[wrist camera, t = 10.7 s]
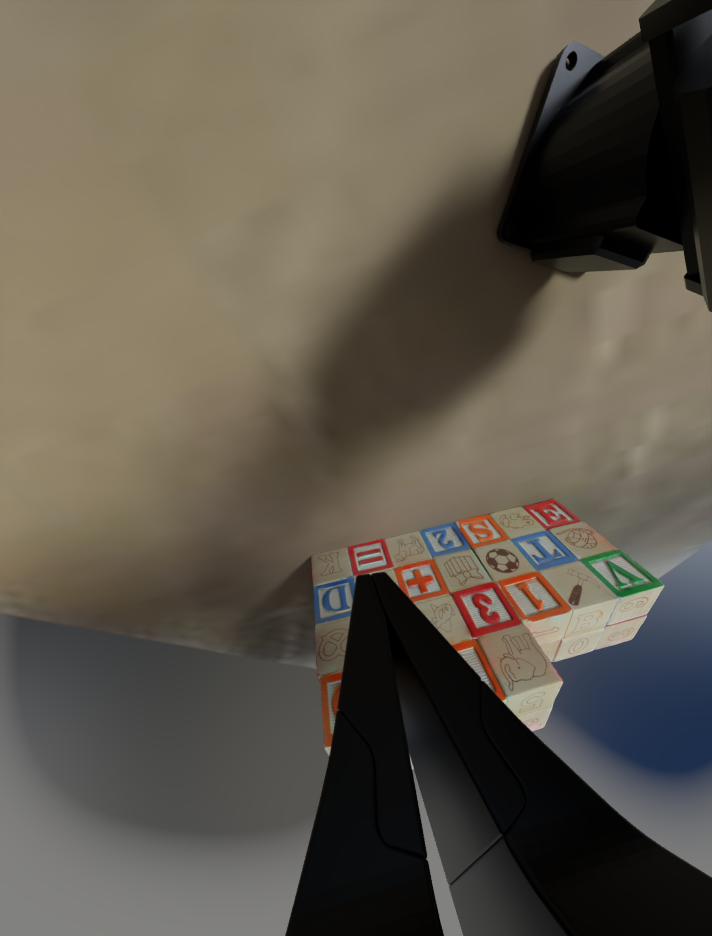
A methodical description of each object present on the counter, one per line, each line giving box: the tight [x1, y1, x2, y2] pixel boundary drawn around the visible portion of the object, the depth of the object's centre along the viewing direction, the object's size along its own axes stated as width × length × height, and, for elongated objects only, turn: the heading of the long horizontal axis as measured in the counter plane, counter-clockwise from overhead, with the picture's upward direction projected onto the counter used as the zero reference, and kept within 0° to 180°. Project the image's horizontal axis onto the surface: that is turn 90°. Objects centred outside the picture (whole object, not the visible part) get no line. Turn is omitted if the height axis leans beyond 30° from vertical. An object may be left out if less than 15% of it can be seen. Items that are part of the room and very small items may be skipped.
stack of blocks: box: [311, 499, 664, 770], centre depth 22 cm, size 21×6×12 cm, turn 98°
